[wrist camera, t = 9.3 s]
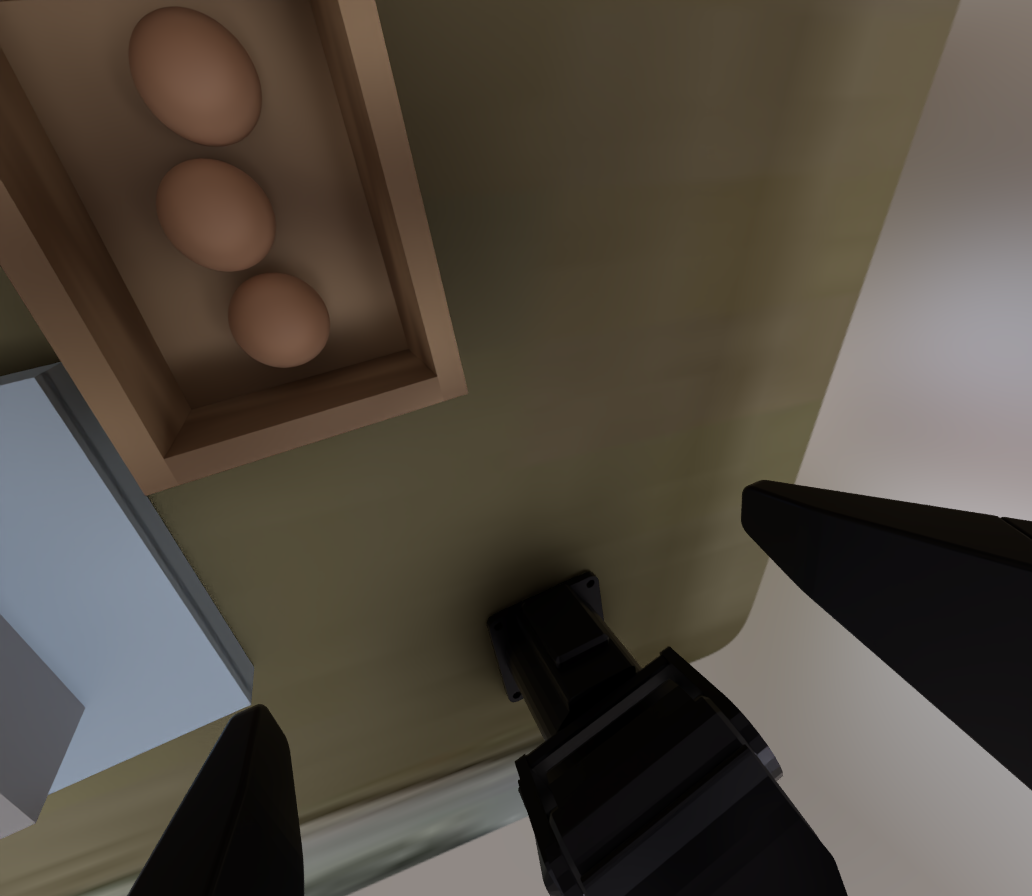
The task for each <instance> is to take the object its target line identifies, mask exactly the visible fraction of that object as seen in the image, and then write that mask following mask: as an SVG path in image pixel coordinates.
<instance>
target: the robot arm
mask: <svg viewBox="0 0 1032 896" xmlns="http://www.w3.org/2000/svg"><path fill="white" fill-rule="evenodd" d="M741 523H742V526H743V528H744V530H745V531H746V533H747V534H748V535H749V536H750V537H751V538H752V539H753V540H754V541H755V542H756V543H757V544H758V545H759V546H760V547H761V549H762V550H763V551H764V552H765V553H766V554H767V555H768V556H769V557H770V558H771V559H772V560H773V561H774V562H775V563H776V564H777V565H778V566H779V567H780V568H781V569H782V570H783V571H784V572H785V573H786V574H787V576H789V578H790V579H791V580H792V581H793V582H794V583H795V584H796V585H797V586H798V587H799V588H800V589H801V590H802V591H803V592H805V593H806V594H807V595H808V596H809V597H810V598H811V599H812V600H813V601H815V602H816V603H817V604H818V605H819V606H820V607H821V608H823V609H824V610H825V611H826V612H827V613H828V614H829V615H831V616H832V617H833V618H834V619H835V620H836V621H838V622H839V623H840V624H841V625H842V626H843V627H844V628H846V629H847V630H848V631H849V632H850V633H851V634H853V635H854V636H855V637H856V638H857V639H858V640H859V641H861V642H862V643H863V644H864V645H865V646H866V647H867V648H869V649H870V650H871V651H872V652H873V653H874V654H876V655H877V656H878V657H879V658H880V659H881V660H882V661H884V662H885V663H886V664H887V665H888V666H889V667H890V668H892V669H893V670H894V671H895V672H896V673H897V674H898V675H900V676H901V677H902V678H903V679H904V680H905V681H907V682H908V683H909V684H910V685H911V686H912V687H914V688H915V689H916V690H917V691H918V692H919V693H920V694H921V695H923V696H924V697H925V698H926V699H927V700H928V701H929V702H931V703H932V704H933V705H934V706H935V707H936V708H938V709H939V710H940V711H941V712H942V713H943V714H944V715H946V716H947V717H948V718H949V719H950V720H951V721H953V722H954V723H955V724H956V725H957V726H958V727H959V728H960V729H962V730H963V731H964V732H965V733H966V734H968V735H969V736H970V737H971V738H972V739H973V740H974V741H976V742H977V743H978V744H979V745H980V746H981V747H983V749H985V750H986V751H987V752H988V753H989V754H990V755H992V756H993V757H994V758H995V759H996V760H997V761H999V762H1000V763H1001V764H1002V765H1003V766H1004V767H1005V768H1007V769H1008V770H1009V771H1010V772H1011V773H1012V774H1013V775H1015V776H1016V777H1017V778H1018V779H1019V780H1020V781H1021V782H1023V783H1024V784H1025V785H1026V786H1027V787H1028V788H1029V789H1031V790H1032V521H1027V520H1020V519H1014V518H1008V517H1001V518H999V517H998V516H994V515H988V514H981V513H975V512H968V511H962V510H956V509H948V508H943V507H936V506H930V505H923V504H917V503H910V502H904V501H897V500H890V499H885V498H878V497H871V496H865V495H858V494H852V493H846V492H840V491H833V490H827V489H820V488H814V487H808V486H801V485H795V484H788V483H782V482H775V481H769V480H760V481H757V482H755V483H753V484H751V485H748V486H746V487H745V488H744V490H743V492H742V508H741ZM588 581H589V582H588ZM497 623H499V624H497ZM495 624H497V625H495ZM487 628H488V631H489V635H490V638H491V642H492V645H493V649H494V652H495V656H496V659H497V663H498V666H499V670H500V673H501V677H502V680H503V683H504V687H505V690H506V694H507V696H508V698H509V700H510V701H511V702H517V701H519V700H521V699H523V698H524V700H525V702H526V704H527V706H528V708H529V710H530V712H531V714H532V716H533V718H534V720H535V722H536V724H537V726H538V728H539V730H540V732H541V734H542V736H543V738H544V740H545V742H544V743H542V744H541V745H540V746H538V747H537V748H536V749H534V750H533V751H532V752H530V753H529V754H528V755H525V754H524V755H523V756H521V757H520V758H519V759H517V760H516V761H515V765H516V768H517V771H518V774H519V777H520V780H518V784H519V789H518V791H519V793H520V795H521V798H522V800H523V803H524V805H525V808H526V810H527V812H528V815H529V818H530V821H531V825H532V828H533V831H534V834H535V839H536V845H537V850H538V855H539V860H540V866H541V871H542V877H543V881H544V884H545V886H546V889H547V891H548V893H549V894H550V896H848V895H847V892H846V890H845V887H844V884H843V881H842V879H841V876H840V873H839V870H838V867H837V865H836V862H835V860H834V858H833V856H832V855H831V853H830V852H829V851H828V850H827V849H826V847H825V846H824V845H823V844H822V842H821V841H820V840H819V838H818V837H817V835H816V834H815V832H814V831H813V830H812V828H811V827H810V826H809V824H808V823H807V822H806V821H805V819H804V818H803V816H802V815H801V814H800V812H799V811H798V810H797V808H796V807H795V806H794V804H793V803H792V802H791V800H790V799H789V798H788V796H787V795H786V794H785V792H784V791H783V790H782V788H781V787H780V786H779V784H778V783H777V782H776V781H777V780H779V779H780V778H781V777H782V776H783V772H782V769H781V767H780V765H779V763H778V761H777V760H776V757H775V756H774V754H773V753H772V751H771V750H770V748H769V747H768V745H767V744H766V742H765V741H764V740H763V738H762V737H761V736H760V734H759V733H758V732H757V730H756V729H755V728H754V727H753V725H752V724H751V723H750V722H749V720H748V719H747V718H746V717H745V716H744V715H743V714H742V713H741V711H740V710H739V709H738V708H737V707H736V706H735V705H734V704H733V703H732V702H731V701H730V700H729V699H728V698H727V697H726V696H725V695H724V694H723V693H722V692H720V691H719V690H718V689H717V688H716V687H715V686H714V685H712V684H711V683H710V682H709V681H708V680H707V679H706V678H705V677H703V676H702V675H701V674H700V673H699V672H698V671H697V670H696V669H694V668H693V667H692V666H691V665H690V664H689V663H688V662H686V661H685V660H684V659H683V658H682V657H681V656H680V655H679V654H677V653H676V652H675V651H674V650H673V649H672V648H671V647H669V646H668V647H667V648H666V649H664V650H663V651H662V652H660V656H658V657H657V658H656V659H654V660H653V661H652V662H650V663H649V664H648V665H646V666H645V667H644V668H641V667H640V665H639V664H638V663H637V662H636V660H635V659H634V658H633V657H632V655H631V654H630V653H629V652H628V651H627V649H626V648H625V647H624V646H623V644H622V643H621V642H620V641H619V639H618V638H617V637H616V636H615V635H614V633H613V632H612V631H611V630H610V628H609V627H608V626H607V625H606V623H605V622H604V618H603V611H602V603H601V595H600V588H599V580H598V578H597V577H596V576H595V574H594V573H592V572H586V573H584V574H582V575H580V576H577V577H575V578H573V579H571V580H569V581H566V582H564V583H562V584H560V585H558V586H556V587H553V588H551V589H549V590H547V591H545V592H542V593H540V594H538V595H536V596H534V597H531V598H529V599H527V600H525V601H523V602H520V603H518V604H516V605H514V606H512V607H509V608H507V609H505V610H503V611H501V612H499V613H496V614H494V615H492V616H491V617H490V618H489V619H488V621H487ZM127 896H304V864H303V852H302V842H301V834H300V826H299V818H298V810H297V802H296V794H295V786H294V779H293V771H292V763H291V755H290V748H289V744H288V741H287V739H286V736H285V735H284V733H283V731H282V730H281V728H280V727H279V725H278V724H277V722H276V720H275V719H274V717H273V716H272V714H271V713H270V711H269V710H268V708H267V707H266V706H265V705H263V704H258V705H255V706H253V707H251V708H248V709H246V710H244V711H242V712H239V713H237V714H235V715H234V716H233V717H232V718H231V719H230V720H229V722H228V723H227V725H226V727H225V728H224V730H223V732H222V734H221V735H220V737H219V739H218V740H217V742H216V744H215V746H214V747H213V749H212V751H211V752H210V754H209V756H208V758H207V759H206V761H205V763H204V765H203V766H202V768H201V770H200V771H199V773H198V775H197V777H196V778H195V780H194V782H193V783H192V785H191V787H190V789H189V790H188V792H187V794H186V795H185V797H184V799H183V801H182V802H181V804H180V806H179V807H178V809H177V811H176V813H175V814H174V816H173V818H172V819H171V821H170V823H169V825H168V826H167V828H166V830H165V832H164V833H163V835H162V837H161V838H160V840H159V842H158V844H157V845H156V847H155V849H154V850H153V852H152V854H151V856H150V857H149V859H148V861H147V862H146V864H145V866H144V868H143V869H142V871H141V873H140V874H139V876H138V878H137V880H136V881H135V883H134V885H133V887H132V888H131V890H130V892H129V893H128V895H127Z"/></svg>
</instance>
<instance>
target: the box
mask: <svg viewBox="0 0 1032 896" xmlns="http://www.w3.org/2000/svg"><path fill="white" fill-rule="evenodd" d="M0 265H1V267H2V268H3V270H4V272H5V273H6V275H7V276H8V278H9V280H10V281H11V283H12V284H13V286H14V288H15V289H16V291H17V292H18V294H19V296H20V297H21V299H22V300H23V302H24V304H25V305H26V307H27V308H28V310H29V311H30V313H31V315H32V316H33V318H34V319H35V321H36V323H37V324H38V326H39V327H40V329H41V331H42V332H43V334H44V335H45V337H46V339H47V340H48V342H49V343H50V345H51V347H52V348H53V350H54V351H55V353H56V355H57V356H58V358H59V359H60V361H61V362H62V364H63V366H64V367H65V369H66V370H67V372H68V374H69V375H70V377H71V378H72V380H73V382H74V383H75V385H76V386H77V388H78V390H79V391H80V393H81V394H82V396H83V398H84V399H85V401H86V402H87V404H88V406H89V407H90V409H91V410H92V412H93V413H94V415H95V417H96V418H97V420H98V421H99V423H100V425H101V426H102V428H103V429H104V431H105V433H106V434H107V436H108V437H109V439H110V441H111V442H112V444H113V445H114V447H115V449H116V450H117V452H118V453H119V455H120V457H121V458H122V460H123V461H124V463H125V464H126V466H127V468H128V469H129V471H130V472H131V474H132V476H133V477H134V479H135V480H136V482H137V484H138V485H139V487H140V488H141V490H142V492H143V493H144V495H145V496H147V495H150V494H153V493H156V492H160V491H163V490H166V489H169V488H172V487H175V486H178V485H182V484H185V483H188V482H191V481H194V480H197V479H201V478H204V477H207V476H210V475H213V474H216V473H219V472H223V471H226V470H229V469H232V468H235V467H238V466H241V465H245V464H248V463H251V462H254V461H257V460H260V459H264V458H267V457H270V456H273V455H276V454H279V453H282V452H286V451H289V450H292V449H295V448H298V447H301V446H305V445H308V444H311V443H314V442H317V441H320V440H323V439H327V438H330V437H333V436H336V435H339V434H342V433H345V432H349V431H352V430H355V429H358V428H361V427H364V426H368V425H371V424H374V423H377V422H380V421H383V420H386V419H390V418H393V417H396V416H399V415H402V414H405V413H409V412H412V411H415V410H418V409H421V408H424V407H427V406H431V405H434V404H437V403H440V402H443V401H446V400H449V399H453V398H456V397H459V396H462V395H465V394H468V389H467V385H466V381H465V377H464V373H463V368H462V364H461V360H460V356H459V352H458V347H457V343H456V339H455V335H454V331H453V326H452V322H451V318H450V314H449V310H448V305H447V301H446V297H445V293H444V289H443V284H442V280H441V276H440V272H439V268H438V263H437V259H436V255H435V251H434V246H433V242H432V238H431V234H430V230H429V225H428V221H427V217H426V213H425V209H424V204H423V200H422V196H421V192H420V188H419V183H418V179H417V175H416V171H415V167H414V162H413V158H412V154H411V150H410V146H409V141H408V137H407V133H406V129H405V125H404V120H403V116H402V112H401V108H400V104H399V99H398V95H397V91H396V87H395V83H394V78H393V74H392V70H391V66H390V62H389V57H388V53H387V49H386V45H385V41H384V36H383V32H382V28H381V24H380V20H379V15H378V11H377V7H376V3H375V0H0Z"/></svg>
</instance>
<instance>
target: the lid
mask: <svg viewBox="0 0 1032 896" xmlns="http://www.w3.org/2000/svg"><path fill="white" fill-rule="evenodd" d="M253 675H254V667H253V665H252V663H251V662H250V660H249V659H248V657H247V655H246V654H245V652H244V651H243V649H242V647H241V646H240V644H239V643H238V641H237V639H236V638H235V636H234V635H233V633H232V631H231V630H230V628H229V627H228V625H227V623H226V622H225V620H224V619H223V617H222V615H221V614H220V612H219V611H218V609H217V607H216V606H215V604H214V603H213V601H212V599H211V598H210V596H209V595H208V593H207V591H206V590H205V588H204V587H203V585H202V583H201V582H200V580H199V579H198V577H197V575H196V574H195V572H194V571H193V569H192V567H191V566H190V564H189V563H188V561H187V559H186V558H185V556H184V555H183V553H182V551H181V550H180V548H179V547H178V545H177V543H176V542H175V540H174V539H173V537H172V535H171V534H170V532H169V531H168V529H167V527H166V526H165V524H164V523H163V521H162V519H161V518H160V516H159V515H158V513H157V511H156V510H155V508H154V507H153V505H152V503H151V502H150V500H149V499H148V497H147V496H145V495H144V493H143V492H142V490H141V488H140V487H139V485H138V484H137V482H136V480H135V479H134V477H133V476H132V474H131V472H130V471H129V469H128V468H127V466H126V464H125V463H124V461H123V460H122V458H121V457H120V455H119V453H118V452H117V450H116V449H115V447H114V445H113V444H112V442H111V441H110V439H109V437H108V436H107V434H106V433H105V431H104V429H103V428H102V426H101V425H100V423H99V421H98V420H97V418H96V417H95V415H94V413H93V412H92V410H91V409H90V407H89V406H88V404H87V402H86V401H85V399H84V398H83V396H82V394H81V393H80V391H79V390H78V388H77V386H76V385H75V383H74V382H73V380H72V378H71V377H70V375H69V374H68V372H67V370H66V369H65V367H64V366H63V364H62V362H58V363H54V364H50V365H46V366H41V367H37V368H33V369H29V370H25V371H21V372H16V373H12V374H8V375H4V376H0V839H2V838H4V837H6V836H8V835H11V834H13V833H15V832H17V831H19V830H22V829H24V828H26V827H28V826H30V825H33V824H35V823H36V821H37V819H38V816H39V814H40V812H41V809H42V807H43V805H44V803H45V800H46V798H47V796H48V795H49V794H51V793H53V792H55V791H58V790H60V789H62V788H64V787H67V786H69V785H71V784H73V783H76V782H78V781H80V780H82V779H85V778H87V777H89V776H91V775H94V774H96V773H98V772H100V771H103V770H105V769H107V768H109V767H112V766H114V765H116V764H118V763H121V762H123V761H125V760H127V759H130V758H132V757H134V756H136V755H139V754H141V753H143V752H145V751H148V750H150V749H152V748H154V747H157V746H159V745H161V744H163V743H166V742H168V741H170V740H172V739H175V738H177V737H179V736H181V735H184V734H186V733H188V732H190V731H193V730H195V729H197V728H199V727H202V726H204V725H206V724H208V723H211V722H213V721H215V720H217V719H220V718H222V717H224V716H226V715H229V714H231V713H233V712H235V711H238V710H240V709H242V708H244V707H247V706H249V705H251V699H252V687H253Z"/></svg>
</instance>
